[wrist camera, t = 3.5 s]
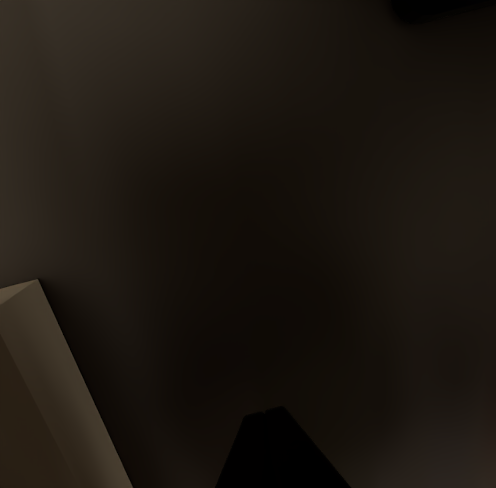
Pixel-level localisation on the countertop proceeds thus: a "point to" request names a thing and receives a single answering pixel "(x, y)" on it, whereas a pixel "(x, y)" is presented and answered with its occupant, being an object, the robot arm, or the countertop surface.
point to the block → (47, 404)
